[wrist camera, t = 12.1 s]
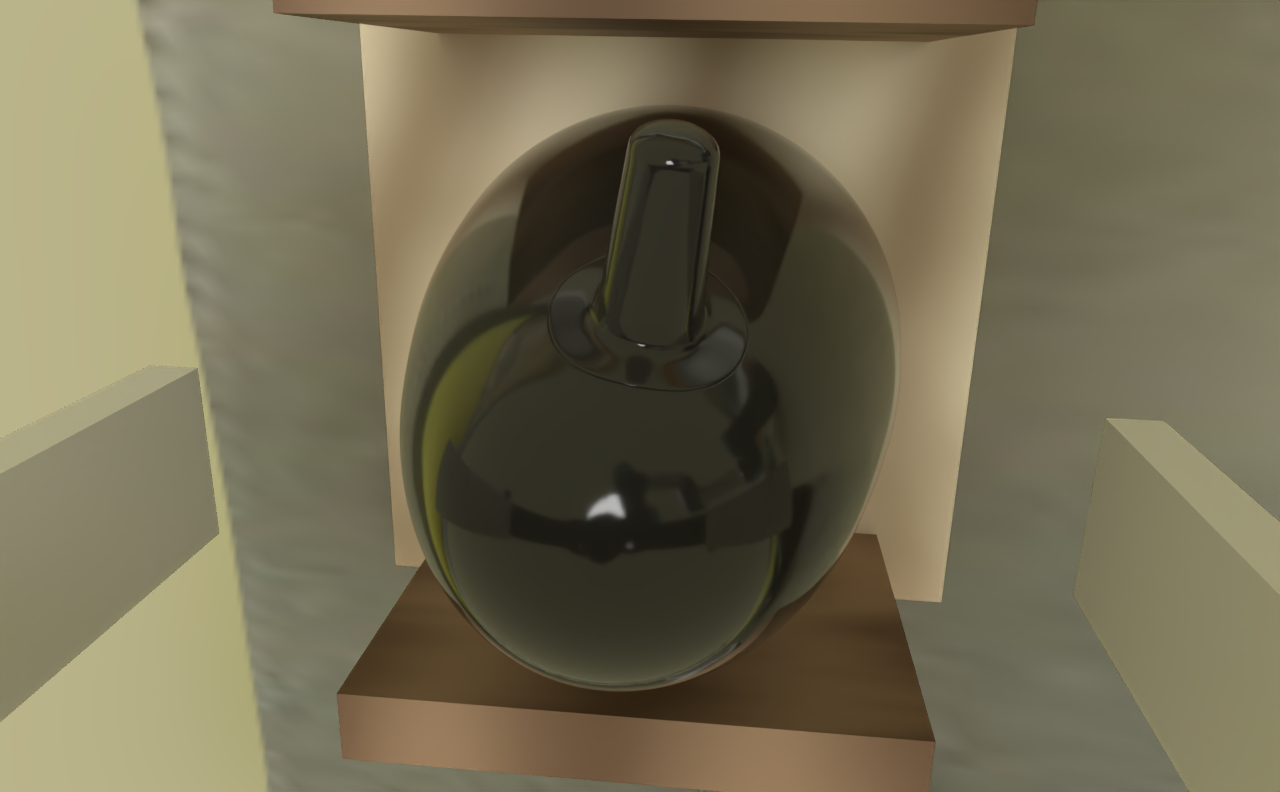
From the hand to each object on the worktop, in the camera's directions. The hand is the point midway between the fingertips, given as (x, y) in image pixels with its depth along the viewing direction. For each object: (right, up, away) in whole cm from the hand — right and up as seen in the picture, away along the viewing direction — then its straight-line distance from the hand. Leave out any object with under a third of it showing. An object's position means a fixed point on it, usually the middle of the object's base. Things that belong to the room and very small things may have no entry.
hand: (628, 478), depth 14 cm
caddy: (+1, +4, +13) cm, 14 cm away
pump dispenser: (+1, +4, +12) cm, 13 cm away
